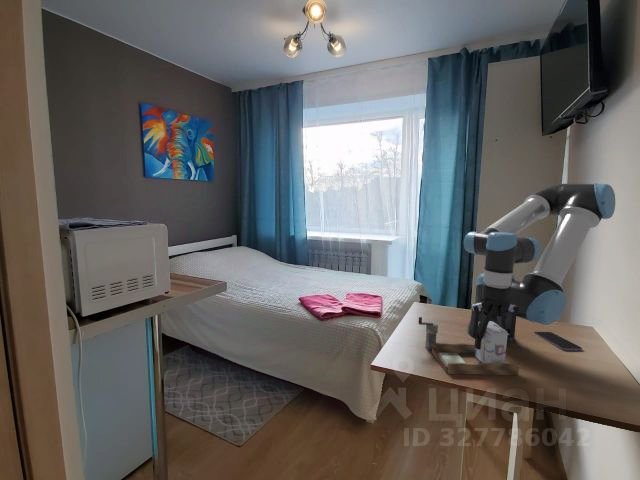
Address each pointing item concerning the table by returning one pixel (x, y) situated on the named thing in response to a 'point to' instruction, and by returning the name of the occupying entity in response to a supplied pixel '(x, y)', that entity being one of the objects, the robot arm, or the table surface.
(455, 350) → the bay
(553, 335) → the smartphone
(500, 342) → the ink box
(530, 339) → the table surface
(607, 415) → the table surface
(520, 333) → the table surface
